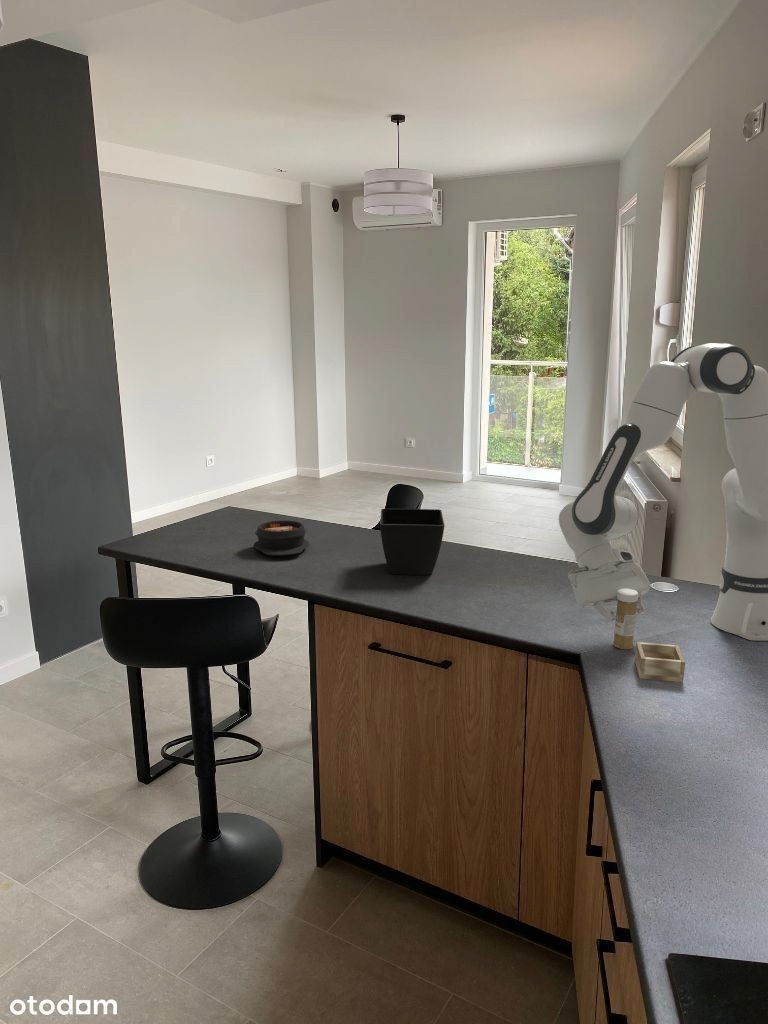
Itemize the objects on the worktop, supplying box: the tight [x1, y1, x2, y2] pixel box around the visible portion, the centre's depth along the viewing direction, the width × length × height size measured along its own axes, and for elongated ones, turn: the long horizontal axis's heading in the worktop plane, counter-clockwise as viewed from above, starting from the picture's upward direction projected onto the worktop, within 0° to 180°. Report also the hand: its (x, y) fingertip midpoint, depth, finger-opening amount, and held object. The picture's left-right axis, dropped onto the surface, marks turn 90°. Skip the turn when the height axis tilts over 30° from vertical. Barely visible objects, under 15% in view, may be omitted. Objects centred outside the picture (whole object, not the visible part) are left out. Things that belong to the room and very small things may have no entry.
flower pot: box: [379, 508, 446, 576], centre depth 222 cm, size 19×19×17 cm
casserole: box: [252, 520, 310, 557], centre depth 243 cm, size 25×19×8 cm
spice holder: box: [634, 641, 686, 683], centre depth 155 cm, size 9×9×4 cm
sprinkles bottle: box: [612, 589, 638, 650], centre depth 167 cm, size 5×5×13 cm
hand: (626, 616), depth 166 cm, fingers open, 8 cm apart
